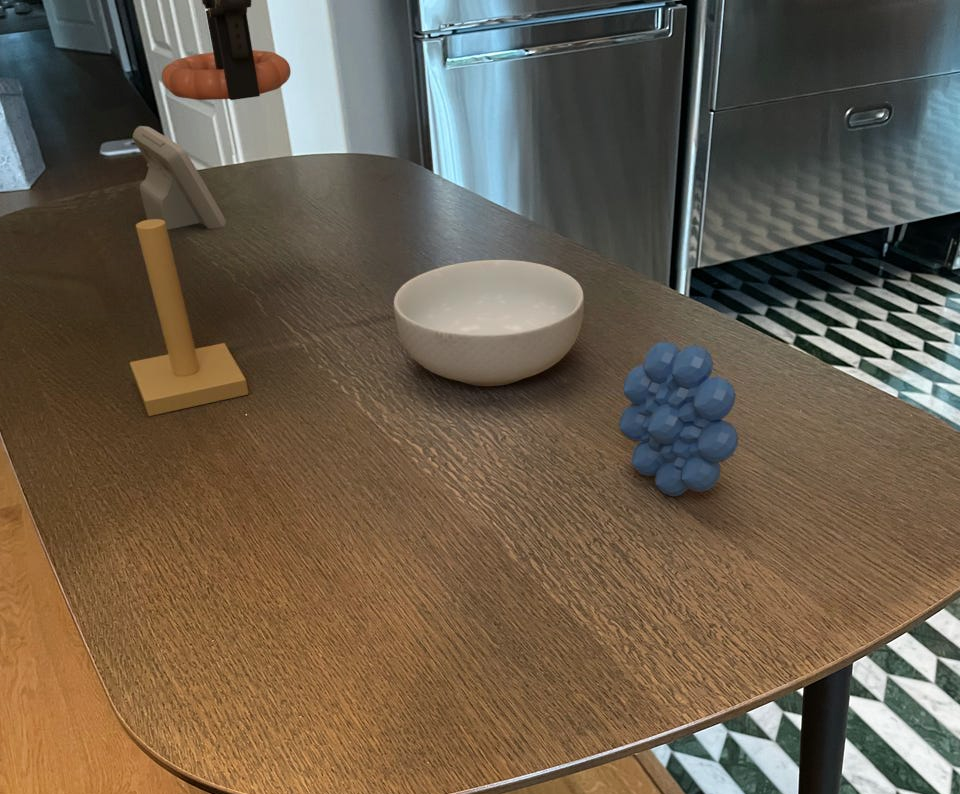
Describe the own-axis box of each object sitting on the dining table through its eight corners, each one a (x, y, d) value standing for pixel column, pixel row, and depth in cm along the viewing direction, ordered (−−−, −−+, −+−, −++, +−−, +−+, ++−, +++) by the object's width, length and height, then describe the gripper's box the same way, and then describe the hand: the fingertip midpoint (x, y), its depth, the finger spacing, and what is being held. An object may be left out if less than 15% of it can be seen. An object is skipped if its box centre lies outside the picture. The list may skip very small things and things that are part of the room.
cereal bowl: (363, 373, 93) (353, 298, 88) (488, 317, 102) (485, 246, 97) (494, 430, 84) (491, 349, 79) (619, 363, 92) (623, 287, 88)
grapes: (767, 511, 73) (794, 354, 65) (694, 540, 70) (713, 381, 62) (666, 445, 80) (679, 298, 73) (597, 470, 78) (603, 320, 70)
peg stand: (133, 376, 94) (88, 217, 85) (227, 357, 97) (193, 200, 88) (148, 416, 88) (101, 249, 79) (249, 394, 91) (215, 229, 81)
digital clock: (230, 237, 124) (212, 144, 118) (157, 248, 122) (134, 155, 115) (211, 201, 136) (193, 115, 129) (144, 211, 134) (122, 124, 127)
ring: (156, 85, 99) (150, 58, 97) (272, 70, 102) (268, 43, 101) (180, 108, 90) (173, 78, 89) (305, 90, 94) (301, 61, 92)
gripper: (254, -252, 73) (303, 104, 88) (206, -241, 84) (257, 74, 100) (150, -248, 71) (219, 116, 86) (116, -238, 82) (182, 84, 97)
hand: (239, 93), depth 93 cm, fingers closed on ring, 3 cm apart
